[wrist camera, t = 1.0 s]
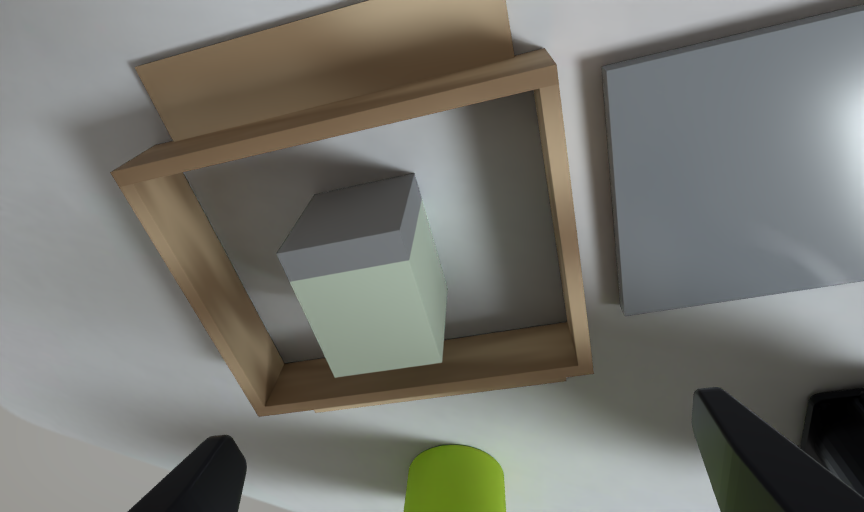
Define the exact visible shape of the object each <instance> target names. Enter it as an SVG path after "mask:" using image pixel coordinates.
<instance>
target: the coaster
mask: <svg viewBox="0 0 864 512" xmlns="http://www.w3.org/2000/svg"><path fill="white" fill-rule="evenodd" d="M602 79H603V91H604V104H605V117H606V130H607V142H608V155H609V168H610V181H611V194H612V206H613V219H614V232H615V245H616V257H617V270H618V283H619V296H620V306H621V309H622V311H623V313H624V316H630V315H637V314H644V313H651V312H657V311H664V310H671V309H678V308H685V307H691V306H698V305H705V304H712V303H719V302H725V301H732V300H739V299H746V298H753V297H759V296H766V295H773V294H780V293H787V292H793V291H800V290H807V289H814V288H821V287H827V286H834V285H841V284H848V283H855V282H861V281H864V4H863V5H859V6H854V7H850V8H846V9H842V10H838V11H833V12H829V13H825V14H821V15H816V16H812V17H808V18H804V19H800V20H795V21H791V22H787V23H783V24H779V25H774V26H770V27H766V28H762V29H758V30H753V31H749V32H745V33H741V34H736V35H732V36H728V37H724V38H720V39H715V40H711V41H707V42H703V43H699V44H694V45H690V46H686V47H682V48H678V49H673V50H669V51H665V52H661V53H657V54H652V55H648V56H644V57H640V58H635V59H631V60H627V61H623V62H619V63H614V64H610V65H606V66H602Z"/></svg>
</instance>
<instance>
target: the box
mask: <svg viewBox="0 0 864 512" xmlns="http://www.w3.org/2000/svg"><path fill="white" fill-rule="evenodd" d="M277 257H278V259H279V261H280V263H281V265H282V267H283V269H284V271H285V273H286V276H287V278H288V280H289V282H290V284H291V286H292V288H293V290H294V292H295V295H296V297H297V299H298V301H299V303H300V305H301V307H302V309H303V312H304V314H305V316H306V318H307V320H308V322H309V324H310V326H311V328H312V331H313V333H314V335H315V337H316V339H317V341H318V343H319V345H320V347H321V350H322V352H323V354H324V356H325V358H326V360H327V362H328V364H329V366H330V369H331V371H332V373H333V375H334V377H335V378H336V377H343V376H350V375H357V374H364V373H372V372H379V371H386V370H393V369H400V368H407V367H414V366H422V365H429V364H436V363H442V358H443V345H444V331H445V318H446V304H447V290H448V289H447V285H446V282H445V278H444V275H443V271H442V268H441V264H440V261H439V257H438V254H437V250H436V247H435V243H434V240H433V236H432V233H431V229H430V226H429V222H428V219H427V215H426V212H425V208H424V205H423V201H422V198H421V194H420V191H419V187H418V184H417V180H416V177H415V173H413V174H408V175H404V176H399V177H394V178H390V179H385V180H380V181H375V182H371V183H366V184H361V185H357V186H352V187H347V188H343V189H338V190H333V191H329V192H324V193H319V194H315V195H314V196H313V198H312V199H311V201H310V202H309V204H308V206H307V207H306V209H305V210H304V212H303V213H302V215H301V216H300V218H299V220H298V221H297V223H296V224H295V226H294V227H293V229H292V230H291V232H290V233H289V235H288V237H287V238H286V240H285V241H284V243H283V244H282V246H281V247H280V249H279V251H278V252H277Z"/></svg>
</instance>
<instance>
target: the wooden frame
mask: <svg viewBox="0 0 864 512" xmlns="http://www.w3.org/2000/svg"><path fill="white" fill-rule="evenodd" d="M135 69H136V71H137V73H138V75H139V77H140V79H141V81H142V83H143V85H144V87H145V88H146V90H147V92H148V94H149V96H150V98H151V100H152V102H153V104H154V106H155V108H156V109H157V111H158V113H159V115H160V117H161V119H162V121H163V123H164V125H165V127H166V129H167V130H168V132H169V134H170V136H171V138H172V140H173V141H170V142H166V143H162V144H158V145H154V146H153V147H151V148H149V149H148V150H146V151H144V152H143V153H141V154H140V155H138V156H136V157H135V158H133V159H131V160H130V161H128V162H127V163H125V164H123V165H122V166H120V167H118V168H117V169H115V170H113V171H112V172H110V173H111V175H112V176H113V178H114V179H115V181H116V183H117V184H118V186H119V188H120V189H121V191H122V193H123V194H124V196H125V198H126V199H127V201H128V202H129V204H130V206H131V207H132V209H133V211H134V212H135V214H136V216H137V217H138V219H139V221H140V222H141V224H142V226H143V227H144V229H145V230H146V232H147V234H148V235H149V237H150V239H151V240H152V242H153V244H154V245H155V247H156V249H157V250H158V252H159V254H160V255H161V257H162V258H163V260H164V262H165V263H166V265H167V267H168V268H169V270H170V272H171V273H172V275H173V277H174V278H175V280H176V281H177V283H178V285H179V286H180V288H181V290H182V291H183V293H184V295H185V296H186V298H187V300H188V301H189V303H190V305H191V306H192V308H193V309H194V311H195V313H196V314H197V316H198V318H199V319H200V321H201V323H202V324H203V326H204V328H205V329H206V331H207V332H208V334H209V336H210V337H211V339H212V341H213V342H214V344H215V346H216V347H217V349H218V351H219V352H220V354H221V356H222V357H223V359H224V360H225V362H226V364H227V365H228V367H229V369H230V370H231V372H232V374H233V375H234V377H235V379H236V380H237V382H238V383H239V385H240V387H241V388H242V390H243V392H244V393H245V395H246V397H247V398H248V400H249V402H250V403H251V405H252V407H253V408H254V410H255V411H256V413H257V415H258V416H259V417H261V416H269V415H276V414H284V413H292V412H300V411H308V410H314V411H315V413H318V412H326V411H334V410H342V409H350V408H358V407H366V406H374V405H381V404H389V403H397V402H405V401H413V400H421V399H429V398H437V397H445V396H452V395H460V394H468V393H476V392H484V391H492V390H500V389H508V388H516V387H523V386H531V385H539V384H547V383H555V382H563V381H566V377H573V376H581V375H589V374H594V371H593V362H592V354H591V346H590V337H589V329H588V321H587V313H586V304H585V296H584V288H583V280H582V271H581V263H580V255H579V247H578V238H577V230H576V222H575V214H574V205H573V197H572V189H571V180H570V172H569V164H568V156H567V147H566V139H565V131H564V123H563V114H562V106H561V98H560V90H559V81H558V73H557V65H556V63H555V62H554V60H553V59H552V58H551V56H550V55H549V54H548V52H547V51H546V49H545V48H543V49H539V50H535V51H531V52H527V53H523V54H519V55H515V56H514V50H513V44H512V38H511V31H510V25H509V19H508V13H507V6H506V0H368V1H364V2H361V3H357V4H354V5H350V6H347V7H343V8H340V9H336V10H333V11H329V12H326V13H322V14H319V15H315V16H312V17H308V18H305V19H301V20H298V21H294V22H291V23H287V24H284V25H280V26H277V27H273V28H270V29H266V30H263V31H259V32H256V33H252V34H249V35H245V36H242V37H238V38H235V39H231V40H228V41H224V42H221V43H217V44H214V45H210V46H207V47H203V48H200V49H196V50H193V51H189V52H185V53H182V54H178V55H175V56H171V57H168V58H164V59H161V60H157V61H154V62H150V63H147V64H143V65H140V66H137V67H135ZM531 90H533V91H534V98H535V104H536V111H537V118H538V125H539V132H540V139H541V145H542V152H543V159H544V166H545V173H546V180H547V186H548V193H549V200H550V207H551V214H552V220H553V227H554V234H555V241H556V248H557V255H558V261H559V268H560V275H561V282H562V289H563V296H564V302H565V309H566V316H567V322H564V323H557V324H550V325H544V326H537V327H530V328H523V329H517V330H510V331H503V332H496V333H490V334H483V335H476V336H469V337H463V338H456V339H449V340H444V345H443V358H442V363H436V364H429V365H422V366H414V367H407V368H400V369H393V370H386V371H379V372H372V373H364V374H357V375H350V376H343V377H336V378H335V377H334V375H333V373H332V371H331V369H330V366H329V364H328V362H327V360H326V358H321V359H314V360H307V361H300V362H294V363H287V364H284V362H283V360H282V358H281V357H280V355H279V353H278V351H277V349H276V347H275V345H274V343H273V342H272V340H271V338H270V336H269V334H268V332H267V330H266V328H265V326H264V325H263V323H262V321H261V319H260V317H259V315H258V313H257V311H256V309H255V308H254V306H253V304H252V302H251V300H250V298H249V296H248V294H247V293H246V291H245V289H244V287H243V285H242V283H241V281H240V279H239V277H238V276H237V274H236V272H235V270H234V268H233V266H232V264H231V262H230V261H229V259H228V257H227V255H226V253H225V251H224V249H223V247H222V245H221V244H220V242H219V240H218V238H217V236H216V234H215V232H214V230H213V228H212V227H211V225H210V223H209V221H208V219H207V217H206V215H205V213H204V212H203V210H202V208H201V206H200V204H199V202H198V200H197V198H196V196H195V195H194V193H193V191H192V189H191V187H190V185H189V183H188V181H187V180H186V178H185V176H184V174H183V172H186V171H190V170H195V169H199V168H203V167H207V166H212V165H216V164H220V163H225V162H229V161H233V160H237V159H242V158H246V157H250V156H254V155H259V154H263V153H267V152H271V151H276V150H280V149H284V148H288V147H293V146H297V145H301V144H305V143H310V142H314V141H318V140H322V139H327V138H331V137H335V136H339V135H344V134H348V133H352V132H356V131H361V130H365V129H369V128H373V127H378V126H382V125H386V124H391V123H395V122H399V121H403V120H408V119H412V118H416V117H420V116H425V115H429V114H433V113H437V112H442V111H446V110H450V109H454V108H459V107H463V106H467V105H471V104H476V103H480V102H484V101H488V100H493V99H497V98H501V97H505V96H510V95H514V94H518V93H522V92H527V91H531Z"/></svg>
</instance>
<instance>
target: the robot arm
mask: <svg viewBox="0 0 864 512" xmlns="http://www.w3.org/2000/svg"><path fill="white" fill-rule="evenodd" d="M692 427H693V431H694V435H695V438H696V441H697V444H698V447H699V450H700V453H701V455H702V458H703V461H704V464H705V467H706V470H707V473H708V476H709V479H710V482H711V485H712V488H713V491H714V494H715V496H716V499H717V502H718V505H719V508H720V511H721V512H864V388H861V389H852V390H843V391H835V392H826V393H819V394H816V395H814V396H812V397H811V398H810V399H809V402H808V408H807V413H806V419H805V425H804V430H803V436H802V442H801V448H799V447H797V446H796V445H795V444H794V443H792V442H791V441H790V440H788V439H787V438H786V437H784V436H783V435H782V434H781V433H779V432H778V431H777V430H775V429H774V428H773V427H771V426H770V425H769V424H768V423H766V422H765V421H764V420H762V419H761V418H760V417H759V416H757V415H756V414H755V413H753V412H752V411H751V410H749V409H748V408H747V407H746V406H744V405H743V404H742V403H740V402H739V401H738V400H736V399H735V398H734V397H733V396H731V395H730V394H729V393H727V392H726V391H725V390H723V389H721V388H718V387H713V388H702V389H697V390H696V391H695V392H694V396H693V410H692ZM246 470H247V465H246V460H245V458H244V456H243V454H242V453H241V451H240V450H239V448H238V446H237V445H236V443H235V441H234V440H233V438H232V437H231V436H229V435H218V436H211V437H209V438H207V439H206V440H205V441H204V442H202V443H201V444H200V445H199V446H198V447H197V448H196V449H195V450H194V451H193V452H192V453H191V454H189V455H188V456H187V457H186V458H185V459H184V460H183V461H182V462H181V463H180V464H179V465H178V466H176V467H175V468H174V469H173V470H172V471H171V472H170V473H169V474H168V475H167V476H166V477H165V478H163V479H162V480H161V482H159V483H158V484H157V485H156V486H155V487H154V488H153V489H152V490H150V491H149V493H147V494H146V495H145V496H144V497H143V498H142V499H141V500H140V501H139V502H137V504H135V505H134V506H133V507H132V508H131V509H130V510H129V511H128V512H238V509H239V504H240V499H241V495H242V490H243V485H244V481H245V476H246Z"/></svg>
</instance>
